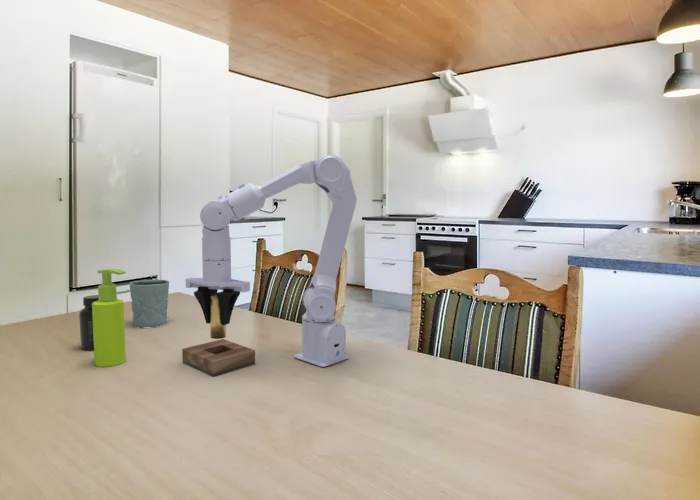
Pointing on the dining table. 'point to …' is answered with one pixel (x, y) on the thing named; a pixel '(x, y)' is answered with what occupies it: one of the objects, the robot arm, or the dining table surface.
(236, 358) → the walnut block
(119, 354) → the soap dispenser
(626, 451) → the dining table surface
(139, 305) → the grey-green plant pot
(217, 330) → the brass peg
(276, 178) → the robot arm
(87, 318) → the supplement bottle
